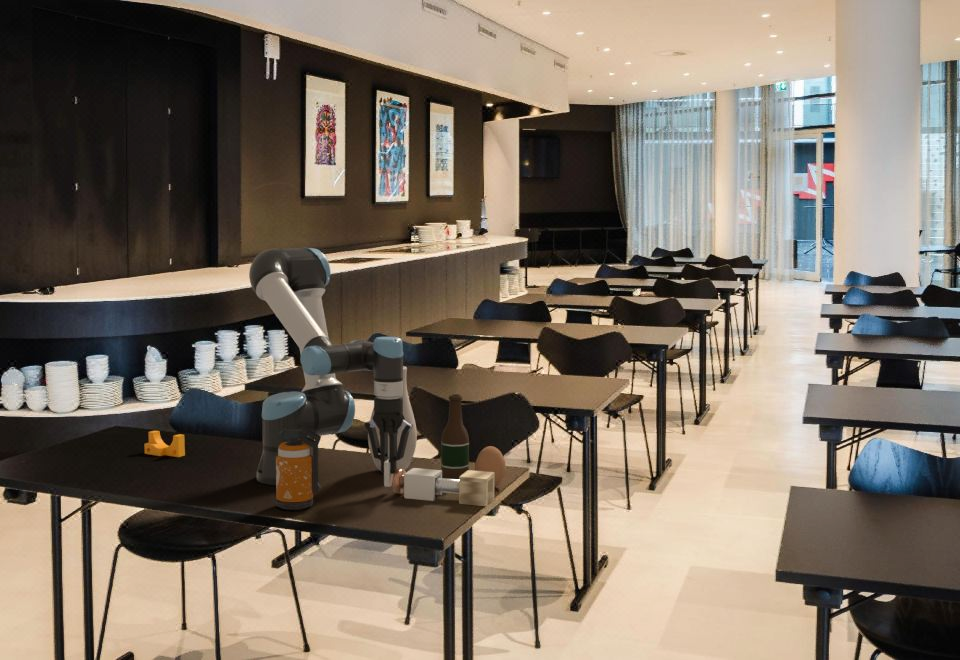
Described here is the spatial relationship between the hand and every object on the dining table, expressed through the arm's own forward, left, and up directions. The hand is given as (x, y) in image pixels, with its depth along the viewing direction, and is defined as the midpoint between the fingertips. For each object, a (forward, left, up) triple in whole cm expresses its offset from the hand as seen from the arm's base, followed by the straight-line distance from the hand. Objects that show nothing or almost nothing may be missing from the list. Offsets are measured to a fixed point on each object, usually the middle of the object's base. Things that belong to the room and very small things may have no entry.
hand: (388, 485), depth 272 cm
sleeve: (+10, 0, -2) cm, 10 cm away
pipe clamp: (-80, +18, -3) cm, 82 cm away
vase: (-7, +21, -2) cm, 23 cm away
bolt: (+14, 0, -2) cm, 14 cm away
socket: (+24, 0, -2) cm, 24 cm away
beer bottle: (+13, +17, -2) cm, 21 cm away
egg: (+24, +14, -2) cm, 28 cm away
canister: (-16, -19, -2) cm, 25 cm away
